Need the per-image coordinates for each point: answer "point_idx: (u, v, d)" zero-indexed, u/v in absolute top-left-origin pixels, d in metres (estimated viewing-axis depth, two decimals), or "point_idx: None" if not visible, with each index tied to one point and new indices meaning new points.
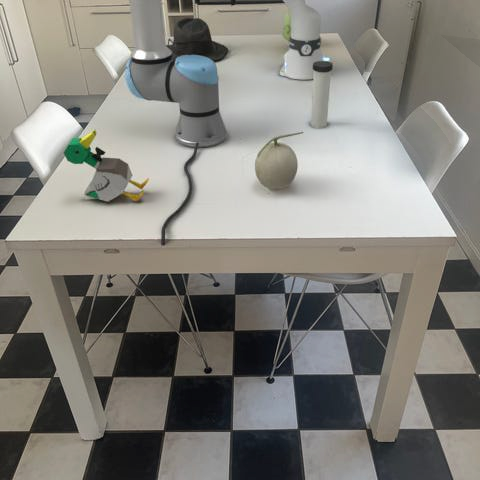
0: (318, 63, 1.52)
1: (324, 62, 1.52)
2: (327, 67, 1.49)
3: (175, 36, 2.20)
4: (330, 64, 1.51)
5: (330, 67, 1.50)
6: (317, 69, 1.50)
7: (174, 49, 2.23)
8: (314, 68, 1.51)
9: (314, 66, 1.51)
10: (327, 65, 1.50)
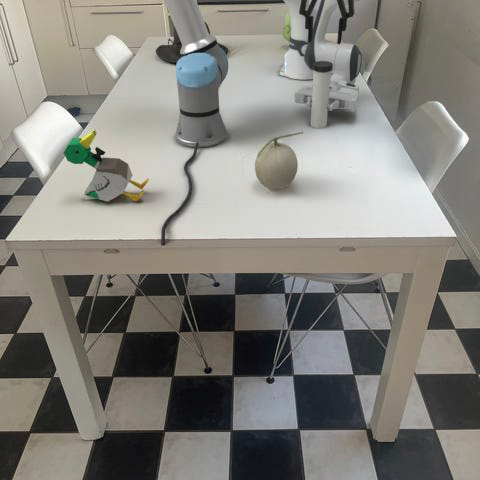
0: (318, 63, 1.52)
1: (324, 62, 1.52)
2: (327, 67, 1.49)
3: (175, 36, 2.20)
4: (330, 64, 1.51)
5: (330, 67, 1.50)
6: (317, 69, 1.50)
7: (174, 49, 2.23)
8: (314, 68, 1.51)
9: (314, 66, 1.51)
10: (327, 65, 1.50)
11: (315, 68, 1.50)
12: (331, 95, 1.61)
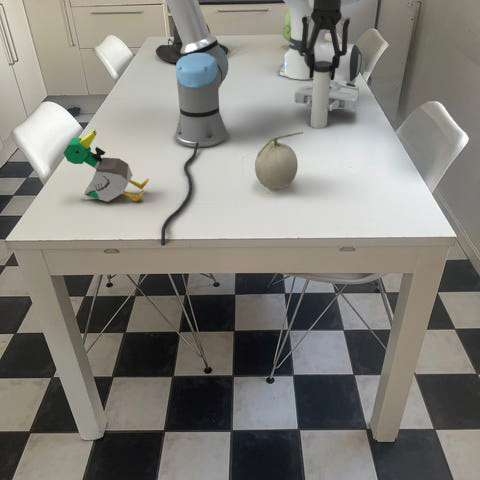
0: (318, 63, 1.52)
1: (324, 62, 1.52)
2: (327, 67, 1.49)
3: (175, 36, 2.20)
4: (330, 64, 1.51)
5: (330, 67, 1.50)
6: (317, 69, 1.50)
7: (174, 49, 2.23)
8: (314, 68, 1.51)
9: (314, 66, 1.51)
10: (327, 65, 1.50)
11: (315, 68, 1.50)
12: (331, 95, 1.61)
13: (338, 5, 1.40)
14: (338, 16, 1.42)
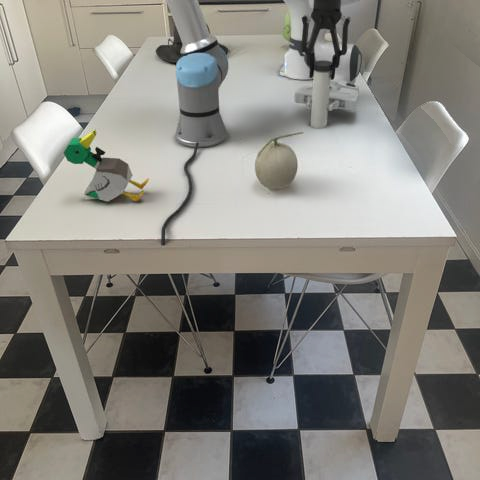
0: (322, 64, 1.50)
1: (318, 62, 1.52)
2: None
3: (175, 36, 2.20)
4: (323, 61, 1.53)
5: None
6: (331, 67, 1.50)
7: (174, 49, 2.23)
8: (328, 68, 1.50)
9: (328, 67, 1.49)
10: (327, 61, 1.52)
11: (330, 68, 1.50)
12: (331, 95, 1.61)
13: (338, 4, 1.40)
14: (338, 15, 1.42)
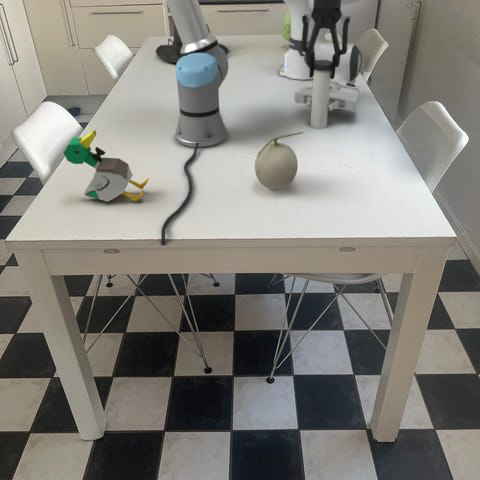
0: (327, 62, 1.51)
1: (322, 64, 1.50)
2: None
3: (175, 36, 2.20)
4: (315, 62, 1.51)
5: None
6: None
7: (174, 49, 2.23)
8: None
9: None
10: (317, 61, 1.52)
11: None
12: (331, 95, 1.61)
13: (338, 4, 1.40)
14: (338, 15, 1.42)
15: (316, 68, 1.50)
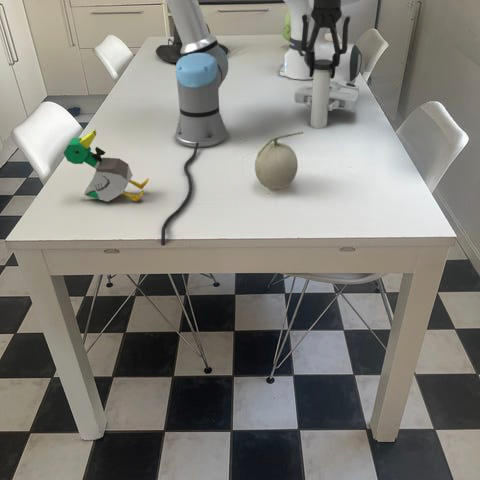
0: (322, 60, 1.52)
1: (327, 62, 1.51)
2: (316, 64, 1.50)
3: (175, 36, 2.20)
4: (324, 64, 1.49)
5: (320, 66, 1.49)
6: None
7: (174, 49, 2.23)
8: None
9: None
10: (319, 63, 1.50)
11: None
12: (331, 95, 1.61)
13: (338, 3, 1.40)
14: (338, 14, 1.42)
15: (331, 67, 1.50)
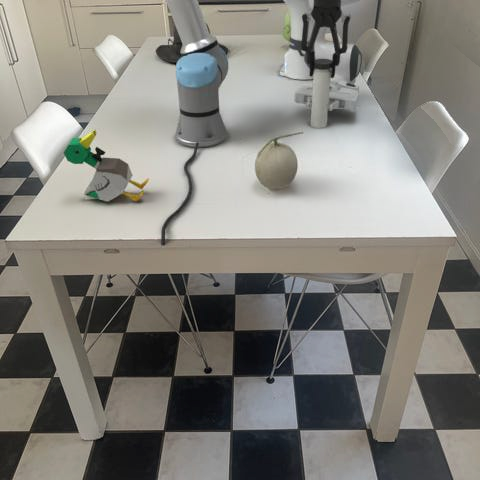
0: (318, 61, 1.51)
1: (322, 60, 1.52)
2: (331, 63, 1.50)
3: (175, 36, 2.20)
4: (330, 61, 1.51)
5: None
6: (322, 67, 1.49)
7: (174, 49, 2.23)
8: (318, 67, 1.50)
9: (317, 65, 1.49)
10: (329, 62, 1.50)
11: (319, 66, 1.49)
12: (331, 95, 1.61)
13: (338, 2, 1.39)
14: (338, 13, 1.41)
15: None
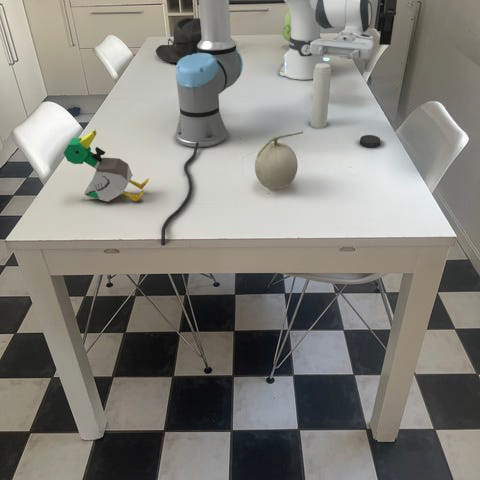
0: (372, 140, 1.48)
1: (365, 139, 1.49)
2: None
3: (175, 36, 2.20)
4: (367, 135, 1.51)
5: None
6: None
7: (174, 49, 2.23)
8: (379, 143, 1.48)
9: (379, 142, 1.48)
10: (371, 136, 1.51)
11: None
12: (346, 45, 1.63)
13: None
14: None
15: None
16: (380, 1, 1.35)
